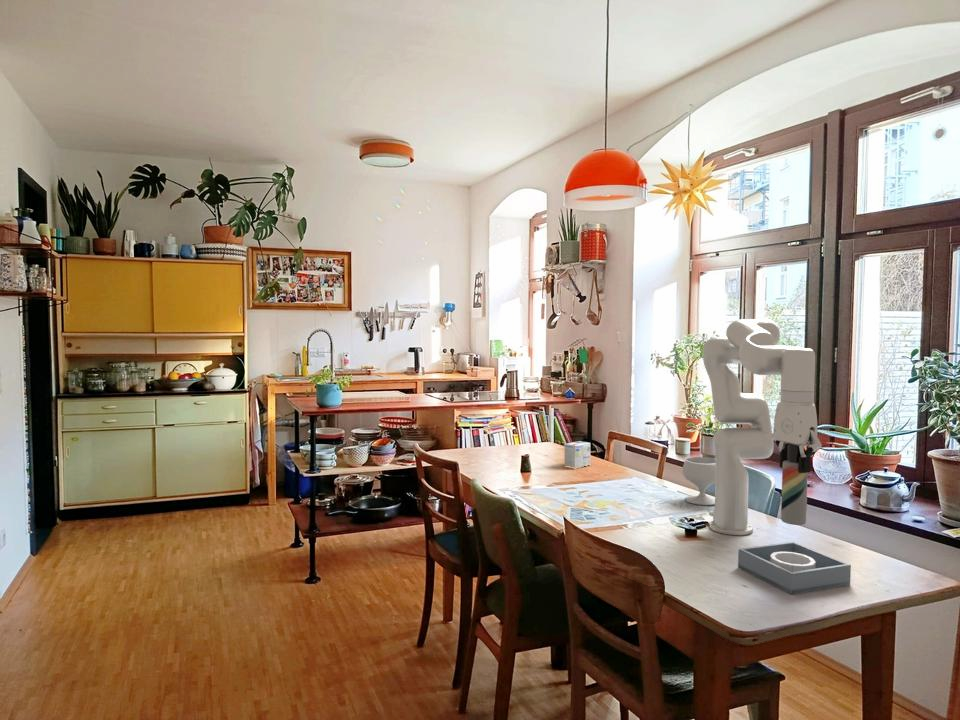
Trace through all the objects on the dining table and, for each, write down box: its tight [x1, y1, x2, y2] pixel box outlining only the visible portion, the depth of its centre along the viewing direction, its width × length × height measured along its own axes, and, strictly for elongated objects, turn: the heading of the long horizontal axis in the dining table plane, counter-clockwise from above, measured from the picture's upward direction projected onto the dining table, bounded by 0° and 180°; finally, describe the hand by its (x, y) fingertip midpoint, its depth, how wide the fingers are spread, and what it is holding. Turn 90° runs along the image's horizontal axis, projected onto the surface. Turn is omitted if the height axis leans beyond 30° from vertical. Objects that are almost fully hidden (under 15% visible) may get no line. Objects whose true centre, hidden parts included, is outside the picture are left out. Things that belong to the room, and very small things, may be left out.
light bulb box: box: [563, 440, 591, 468], centre depth 290 cm, size 11×7×11 cm, turn 130°
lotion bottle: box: [780, 443, 809, 526], centre depth 162 cm, size 6×6×20 cm
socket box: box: [737, 541, 852, 596], centre depth 163 cm, size 18×18×5 cm
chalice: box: [681, 456, 716, 506], centre depth 233 cm, size 14×14×15 cm
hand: (794, 469), depth 162 cm, fingers closed on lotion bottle, 5 cm apart
